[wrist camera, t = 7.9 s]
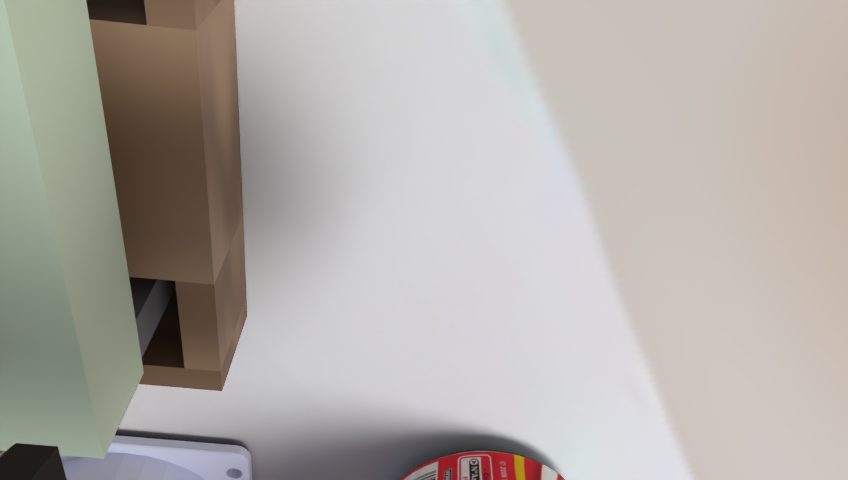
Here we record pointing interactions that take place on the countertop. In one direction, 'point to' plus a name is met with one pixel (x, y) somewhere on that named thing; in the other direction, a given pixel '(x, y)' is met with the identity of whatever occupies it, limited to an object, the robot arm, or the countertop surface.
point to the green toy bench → (63, 243)
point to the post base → (177, 173)
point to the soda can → (483, 468)
